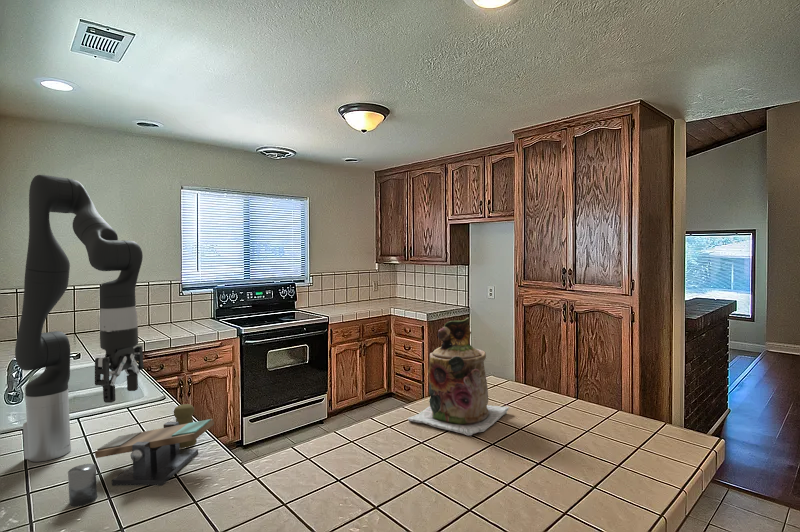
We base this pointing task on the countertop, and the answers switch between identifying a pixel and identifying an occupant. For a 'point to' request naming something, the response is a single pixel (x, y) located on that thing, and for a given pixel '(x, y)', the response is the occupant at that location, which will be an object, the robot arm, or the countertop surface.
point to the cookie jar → (458, 385)
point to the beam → (155, 437)
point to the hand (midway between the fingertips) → (121, 396)
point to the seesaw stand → (154, 463)
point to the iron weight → (82, 485)
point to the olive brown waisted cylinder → (184, 420)
